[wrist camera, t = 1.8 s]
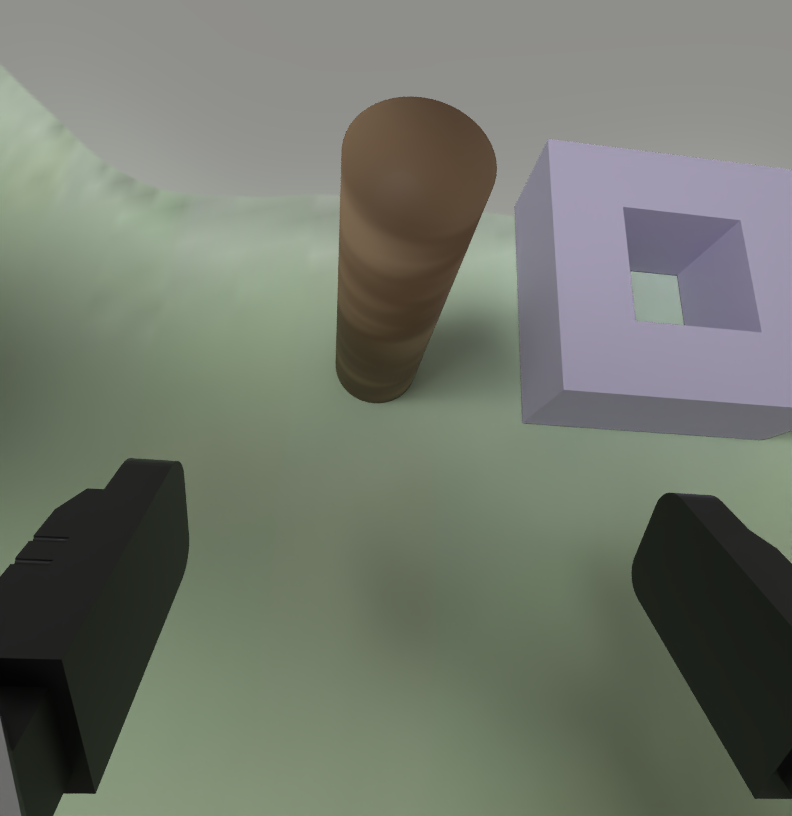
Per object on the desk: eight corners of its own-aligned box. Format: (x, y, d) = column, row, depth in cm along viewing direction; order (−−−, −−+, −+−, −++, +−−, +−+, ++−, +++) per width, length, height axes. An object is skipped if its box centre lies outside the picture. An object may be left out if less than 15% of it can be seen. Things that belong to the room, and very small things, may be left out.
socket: (522, 423, 27) (563, 389, 22) (514, 206, 31) (548, 138, 26) (762, 439, 28) (849, 411, 23) (724, 229, 32) (793, 169, 27)
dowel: (332, 399, 26) (335, 215, 13) (338, 325, 27) (346, 87, 14) (414, 405, 27) (498, 232, 13) (416, 332, 28) (495, 107, 15)
